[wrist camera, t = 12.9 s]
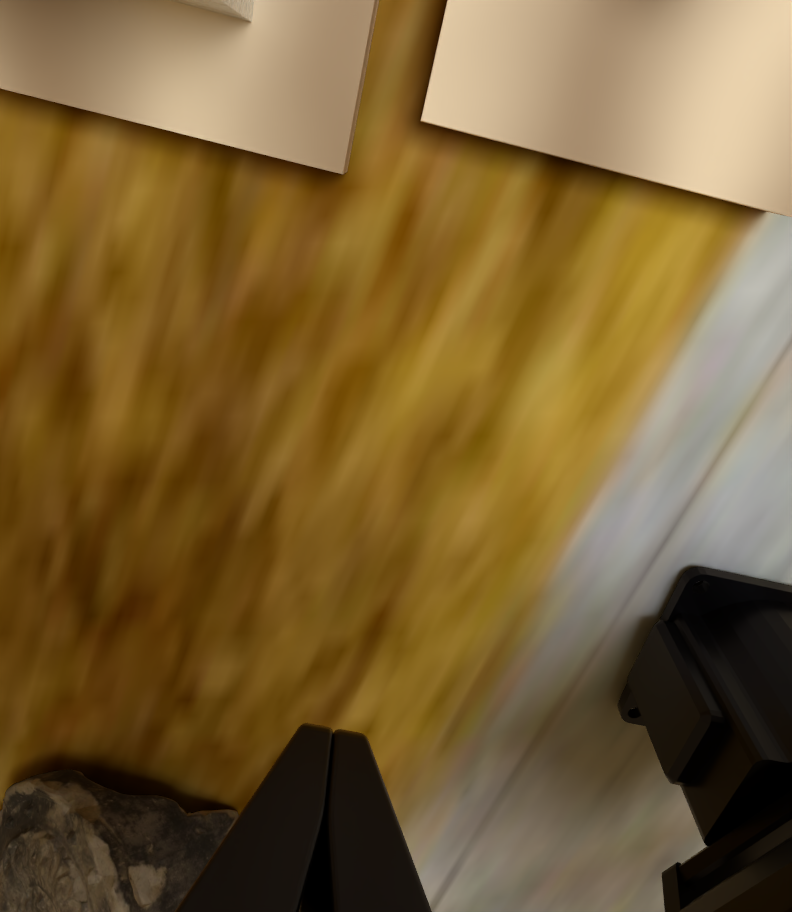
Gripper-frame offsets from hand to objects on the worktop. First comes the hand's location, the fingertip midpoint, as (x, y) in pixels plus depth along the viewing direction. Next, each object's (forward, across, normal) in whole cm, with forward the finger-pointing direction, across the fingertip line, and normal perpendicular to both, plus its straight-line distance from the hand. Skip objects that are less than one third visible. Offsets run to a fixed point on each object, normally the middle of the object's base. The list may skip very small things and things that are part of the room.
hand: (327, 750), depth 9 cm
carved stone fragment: (+12, +6, +21) cm, 25 cm away
